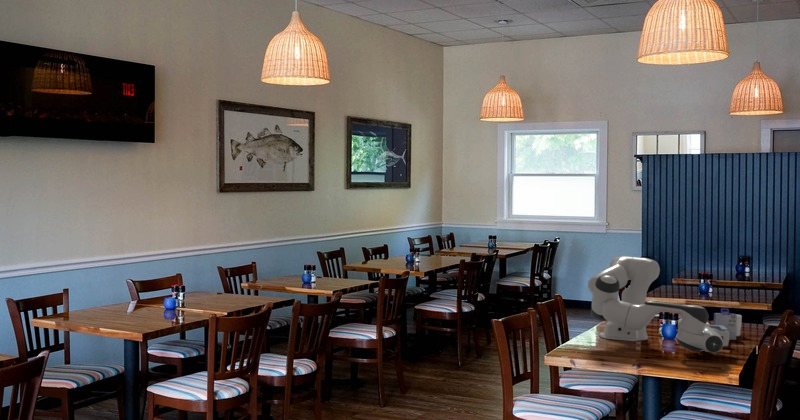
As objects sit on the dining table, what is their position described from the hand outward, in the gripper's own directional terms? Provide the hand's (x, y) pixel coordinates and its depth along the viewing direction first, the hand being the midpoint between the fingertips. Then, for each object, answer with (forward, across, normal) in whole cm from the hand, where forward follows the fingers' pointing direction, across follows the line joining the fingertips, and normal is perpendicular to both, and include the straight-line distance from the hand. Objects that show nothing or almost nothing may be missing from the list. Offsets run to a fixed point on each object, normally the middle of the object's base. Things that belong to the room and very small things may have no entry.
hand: (701, 331), depth 355 cm
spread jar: (+43, 0, -8) cm, 44 cm away
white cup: (+44, +22, -8) cm, 50 cm away
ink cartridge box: (+32, +16, -8) cm, 37 cm away
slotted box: (+16, +8, -8) cm, 20 cm away
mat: (+2, 0, -8) cm, 8 cm away
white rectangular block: (-1, 0, -7) cm, 7 cm away
